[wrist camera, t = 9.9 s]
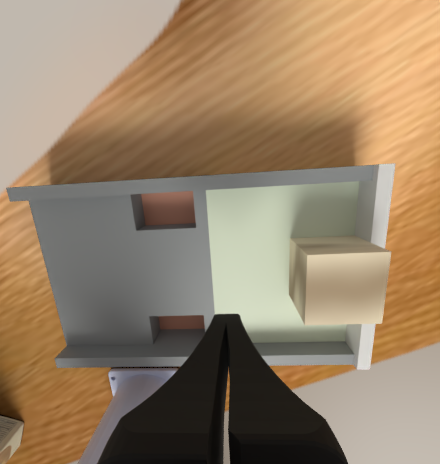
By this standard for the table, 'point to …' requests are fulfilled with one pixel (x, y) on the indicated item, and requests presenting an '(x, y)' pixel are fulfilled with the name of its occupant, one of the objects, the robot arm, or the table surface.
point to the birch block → (338, 280)
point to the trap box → (199, 261)
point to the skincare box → (9, 437)
